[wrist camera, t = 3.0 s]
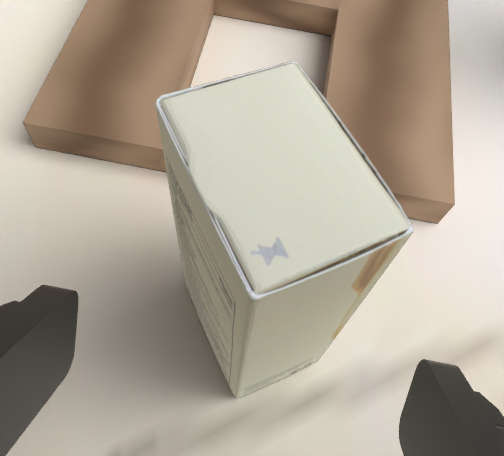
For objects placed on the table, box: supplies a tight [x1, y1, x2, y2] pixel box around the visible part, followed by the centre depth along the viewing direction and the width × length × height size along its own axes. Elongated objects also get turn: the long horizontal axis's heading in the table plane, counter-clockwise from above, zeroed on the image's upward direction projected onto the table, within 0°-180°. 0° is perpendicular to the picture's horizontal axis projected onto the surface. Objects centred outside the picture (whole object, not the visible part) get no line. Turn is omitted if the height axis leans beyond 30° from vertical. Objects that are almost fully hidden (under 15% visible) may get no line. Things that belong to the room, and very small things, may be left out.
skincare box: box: [155, 61, 413, 398], centre depth 17 cm, size 6×4×12 cm
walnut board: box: [23, 0, 455, 224], centre depth 28 cm, size 22×16×2 cm
